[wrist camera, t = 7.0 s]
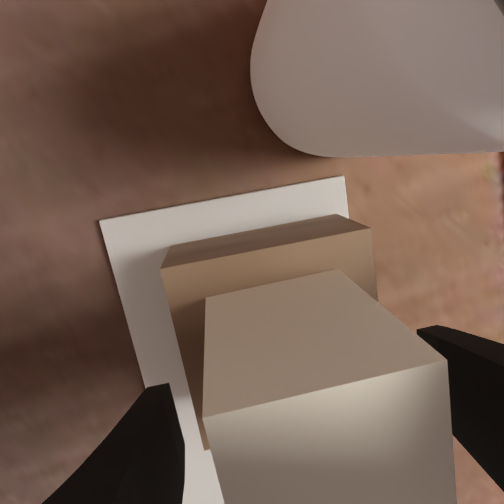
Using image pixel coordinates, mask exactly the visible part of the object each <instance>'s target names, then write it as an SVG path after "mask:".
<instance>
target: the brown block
mask: <svg viewBox="0 0 504 504" xmlns="http://www.w3.org/2000/svg"><path fill="white" fill-rule="evenodd" d="M334 269H339V270H340V271H341V272H342V273H344V274H345V275H346V276H347V277H348V278H350V279H351V280H352V281H353V282H354V283H356V284H357V285H358V286H359V287H360V288H362V289H363V290H364V291H365V292H366V293H368V294H369V295H370V296H371V297H372V298H374V299H375V300H376V301H377V302H378V294H377V284H376V273H375V262H374V252H373V241H372V230H371V228H370V227H368V226H365V225H363V224H360V223H358V222H355V221H353V220H351V219H348V218H346V217H343V216H341V215H338V214H333V215H328V216H322V217H317V218H312V219H307V220H301V221H296V222H291V223H286V224H280V225H275V226H270V227H265V228H260V229H254V230H249V231H244V232H239V233H233V234H228V235H223V236H218V237H212V238H207V239H202V240H197V241H191V242H186V243H181V244H176V245H171V246H170V248H169V250H168V252H167V255H166V257H165V259H164V261H163V263H162V265H161V268H160V272H161V276H162V280H163V284H164V289H165V293H166V297H167V301H168V305H169V309H170V313H171V317H172V321H173V325H174V330H175V334H176V338H177V342H178V346H179V350H180V354H181V358H182V362H183V366H184V370H185V375H186V379H187V383H188V387H189V391H190V395H191V399H192V403H193V407H194V411H195V416H196V420H197V424H198V428H199V432H200V436H201V440H202V444H203V448H204V451H205V450H209V449H210V446H209V442H208V438H207V434H206V431H205V427H204V423H203V419H202V410H203V375H204V340H205V306H206V297H211V296H215V295H220V294H225V293H229V292H234V291H238V290H243V289H247V288H252V287H257V286H261V285H266V284H270V283H275V282H279V281H284V280H289V279H293V278H298V277H302V276H307V275H311V274H316V273H321V272H325V271H330V270H334Z"/></svg>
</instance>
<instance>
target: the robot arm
mask: <svg viewBox="0 0 504 504" xmlns="http://www.w3.org/2000/svg"><path fill="white" fill-rule="evenodd" d="M417 335H418V336H419V337H420V338H422V339H423V340H424V341H425V342H426V343H428V344H429V345H430V346H431V347H432V348H434V349H435V350H436V351H437V352H438V353H440V354H441V355H442V356H443V357H444V358H446V359H447V363H448V378H449V394H450V409H451V424H452V434H453V435H454V436H455V438H456V439H457V440H458V441H459V442H460V443H461V444H462V446H463V447H464V448H465V449H466V450H467V451H468V452H469V453H470V454H471V456H472V457H473V458H474V459H475V460H476V461H477V462H478V463H479V465H480V466H481V467H482V468H483V469H484V470H485V471H486V472H487V474H488V475H489V476H490V477H491V478H492V479H493V480H494V481H495V482H496V484H497V485H498V486H499V487H500V488H501V489H502V490H503V491H504V344H501V343H498V342H495V341H492V340H488V339H485V338H482V337H479V336H475V335H472V334H469V333H466V332H462V331H459V330H455V329H452V328H448V327H444V326H439V325H435V326H430V327H426V328H421V329H417ZM184 483H185V442H184V438H183V434H182V430H181V427H180V423H179V419H178V415H177V411H176V407H175V403H174V399H173V396H172V392H171V388H170V384H169V383H165V384H160V385H155V386H151V387H147V388H146V389H145V390H144V392H143V393H142V394H141V395H140V396H139V398H138V399H137V400H136V401H135V403H134V404H133V405H132V406H131V408H130V409H129V410H128V411H127V413H126V414H125V415H124V416H123V418H122V419H121V420H120V421H119V422H118V424H117V425H116V426H115V427H114V429H113V430H112V431H111V432H110V433H109V435H108V436H107V437H106V438H105V439H104V440H103V441H102V443H101V444H100V445H99V446H98V447H97V448H96V449H95V450H94V451H93V453H92V454H91V455H90V456H89V457H88V458H87V459H86V460H85V461H84V463H83V464H82V465H81V466H80V467H79V468H78V469H77V470H76V471H75V472H74V473H73V474H72V475H71V476H70V477H69V478H68V479H67V480H66V481H65V482H64V483H63V484H62V485H61V486H60V487H59V488H58V489H57V490H56V491H55V492H54V493H53V494H52V495H51V496H50V497H48V498H47V499H46V500H45V501H44V502H43V503H42V504H182V500H183V492H184Z"/></svg>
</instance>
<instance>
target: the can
mask: <svg viewBox="0 0 504 504" xmlns="http://www.w3.org/2000/svg"><path fill="white" fill-rule="evenodd" d="M250 77H251V85H252V90H253V94H254V98H255V101H256V104H257V106H258V109H259V111H260V113H261V115H262V116H263V118H264V120H265V121H266V123H267V124H268V126H269V127H270V128H271V130H272V131H273V132H274V133H275V134H276V135H277V136H278V137H279V138H280V139H281V140H282V141H283V142H285V143H286V144H287V145H289V146H291V147H293V148H295V149H297V150H299V151H302V152H305V153H308V154H312V155H317V156H324V157H372V156H404V155H432V154H458V153H481V152H503V151H504V0H267V3H266V5H265V8H264V11H263V14H262V17H261V20H260V23H259V26H258V29H257V32H256V35H255V39H254V42H253V47H252V52H251V61H250Z"/></svg>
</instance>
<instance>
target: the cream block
mask: <svg viewBox="0 0 504 504" xmlns="http://www.w3.org/2000/svg"><path fill="white" fill-rule="evenodd" d="M202 419H203V423H204V427H205V431H206V434H207V438H208V442H209V446H210V450H211V454H212V457H213V461H214V465H215V469H216V473H217V476H218V480H219V484H220V488H221V492H222V496H223V499H224V503H225V504H457V500H456V484H455V469H454V454H453V439H452V424H451V409H450V394H449V378H448V363H447V359H446V358H444V357H443V356H442V355H441V354H440V353H438V352H437V351H436V350H435V349H434V348H432V347H431V346H430V345H429V344H428V343H426V342H425V341H424V340H423V339H422V338H420V337H419V336H418V335H417V334H416V333H414V332H413V331H412V330H411V329H410V328H408V327H407V326H406V325H405V324H404V323H402V322H401V321H400V320H399V319H398V318H396V317H395V316H394V315H393V314H392V313H390V312H389V311H388V310H387V309H386V308H384V307H383V306H382V305H381V304H380V303H378V302H377V301H376V300H375V299H374V298H372V297H371V296H370V295H369V294H368V293H366V292H365V291H364V290H363V289H362V288H360V287H359V286H358V285H357V284H356V283H354V282H353V281H352V280H351V279H350V278H348V277H347V276H346V275H345V274H344V273H342V272H341V271H340V270H339V269H334V270H330V271H325V272H321V273H316V274H311V275H307V276H302V277H298V278H293V279H289V280H284V281H279V282H275V283H270V284H266V285H261V286H257V287H252V288H247V289H243V290H238V291H234V292H229V293H225V294H220V295H215V296H211V297H206V306H205V340H204V375H203V410H202Z"/></svg>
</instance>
